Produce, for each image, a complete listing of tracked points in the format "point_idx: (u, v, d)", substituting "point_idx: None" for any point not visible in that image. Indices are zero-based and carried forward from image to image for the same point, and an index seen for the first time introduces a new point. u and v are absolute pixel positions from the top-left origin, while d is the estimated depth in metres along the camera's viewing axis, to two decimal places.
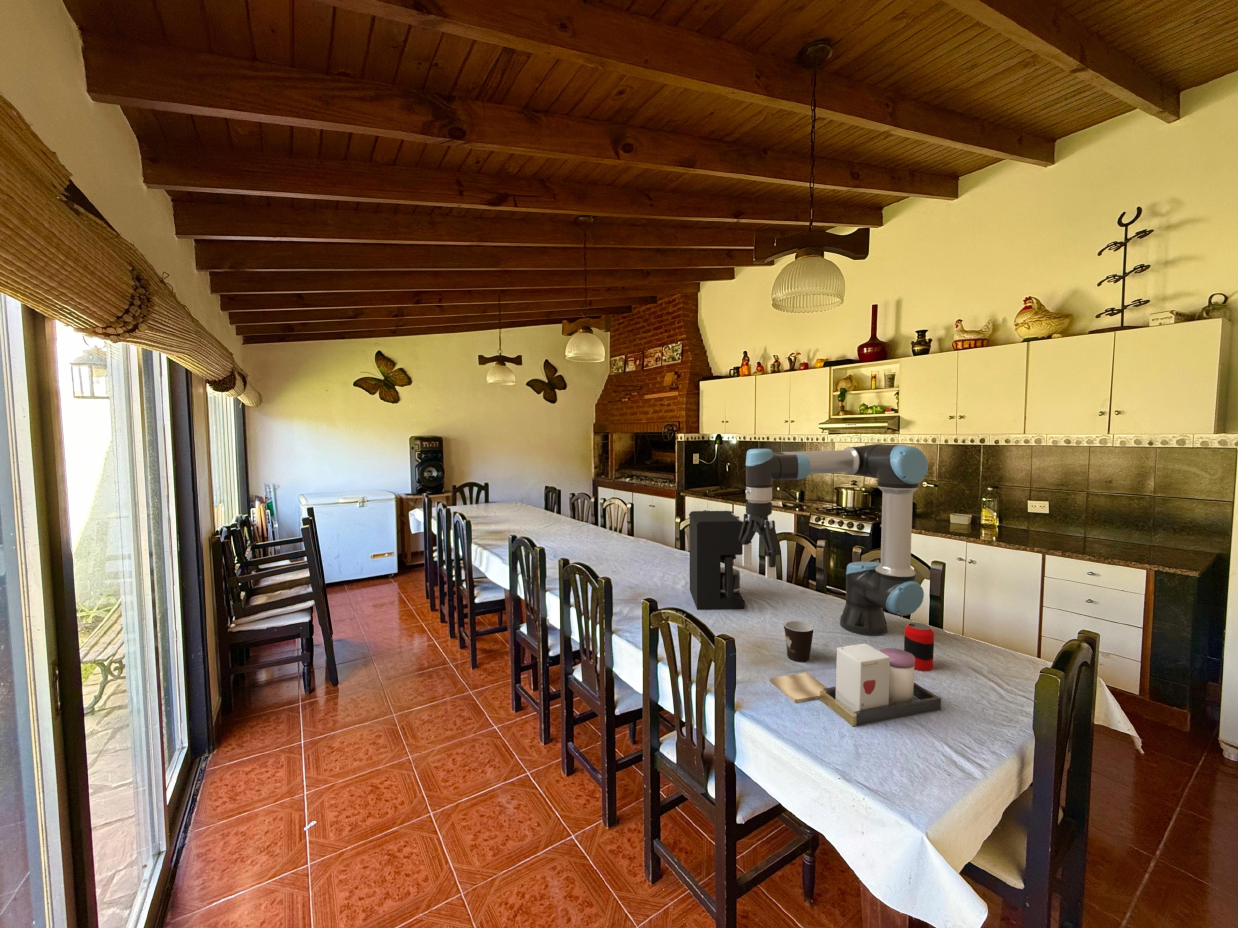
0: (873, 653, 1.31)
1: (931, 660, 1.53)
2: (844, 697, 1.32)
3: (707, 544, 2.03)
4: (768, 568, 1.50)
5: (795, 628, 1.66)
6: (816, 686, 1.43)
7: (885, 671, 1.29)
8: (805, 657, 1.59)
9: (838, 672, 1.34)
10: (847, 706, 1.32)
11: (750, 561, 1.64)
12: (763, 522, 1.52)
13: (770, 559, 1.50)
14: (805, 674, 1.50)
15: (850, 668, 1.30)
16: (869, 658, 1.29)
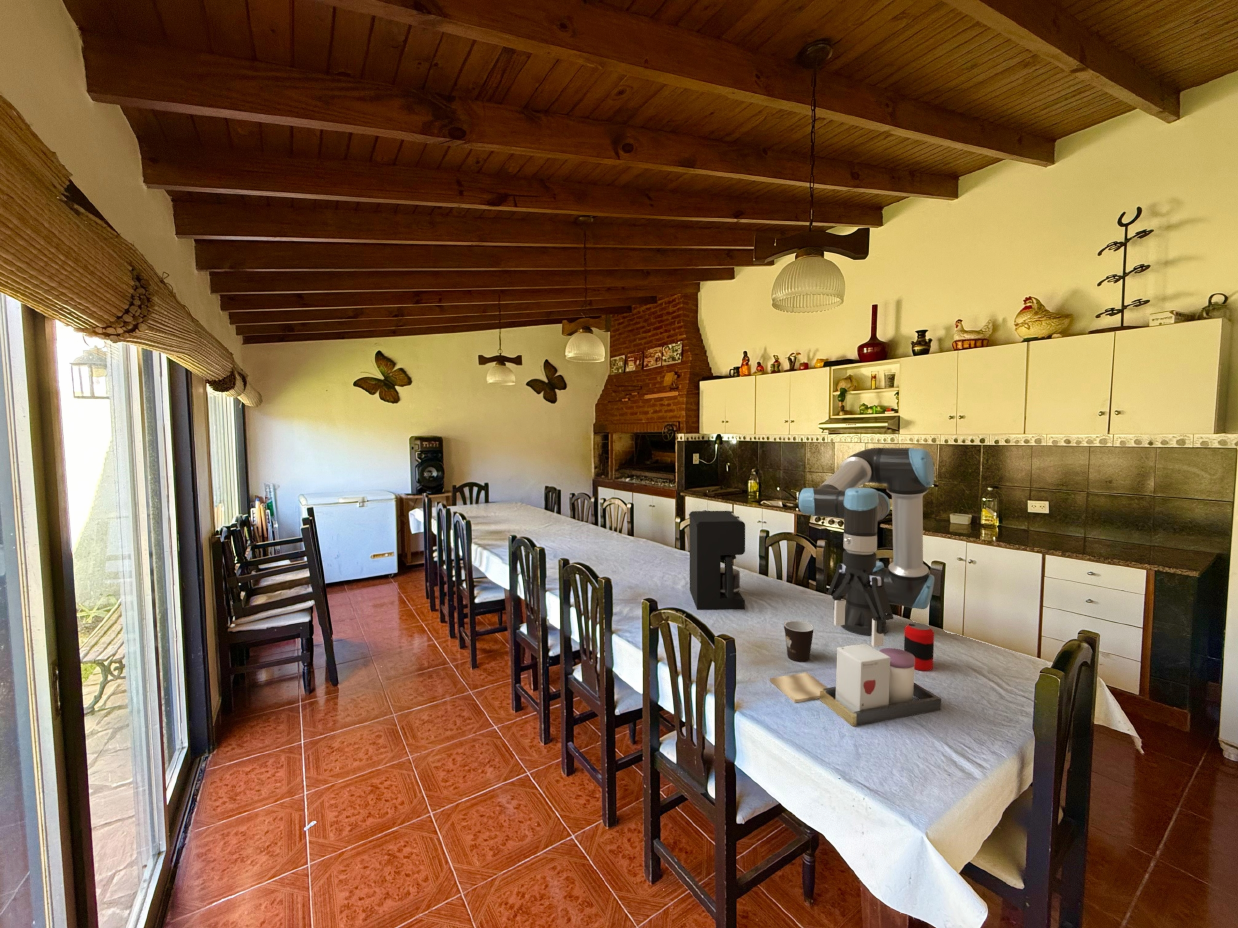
0: (873, 653, 1.31)
1: (931, 660, 1.53)
2: (844, 697, 1.32)
3: (707, 544, 2.03)
4: (875, 634, 1.24)
5: (795, 628, 1.66)
6: (816, 686, 1.43)
7: (885, 671, 1.29)
8: (805, 657, 1.59)
9: (839, 672, 1.34)
10: (847, 706, 1.32)
11: (843, 619, 1.38)
12: (868, 578, 1.26)
13: (878, 624, 1.23)
14: (805, 674, 1.50)
15: (850, 668, 1.30)
16: (869, 658, 1.29)
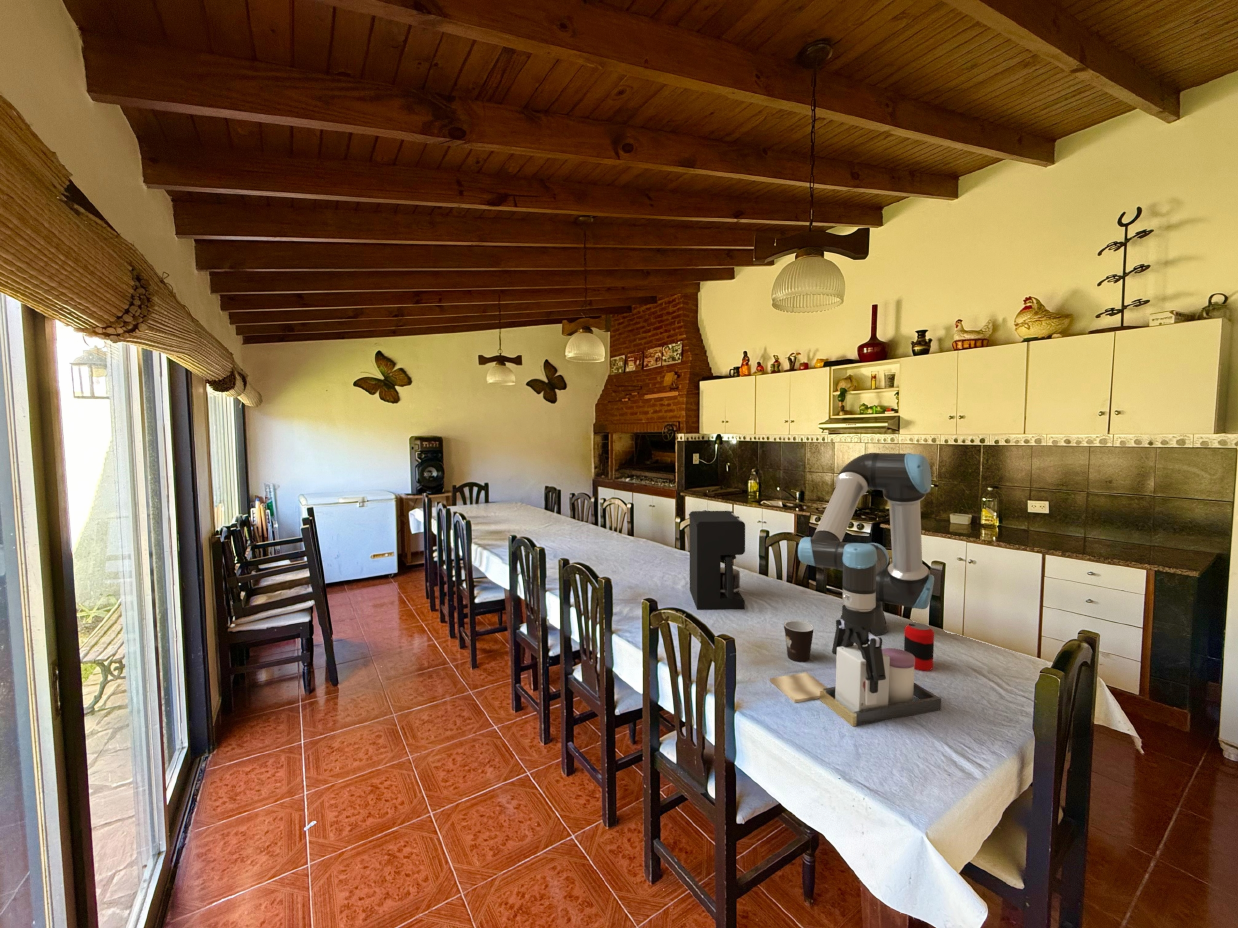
0: None
1: (931, 660, 1.53)
2: (844, 697, 1.33)
3: (707, 544, 2.03)
4: (868, 693, 1.27)
5: (795, 628, 1.66)
6: (816, 686, 1.43)
7: (885, 671, 1.29)
8: (805, 657, 1.59)
9: (838, 672, 1.34)
10: (847, 706, 1.32)
11: None
12: (867, 636, 1.27)
13: (871, 683, 1.26)
14: (805, 674, 1.50)
15: (849, 667, 1.30)
16: None
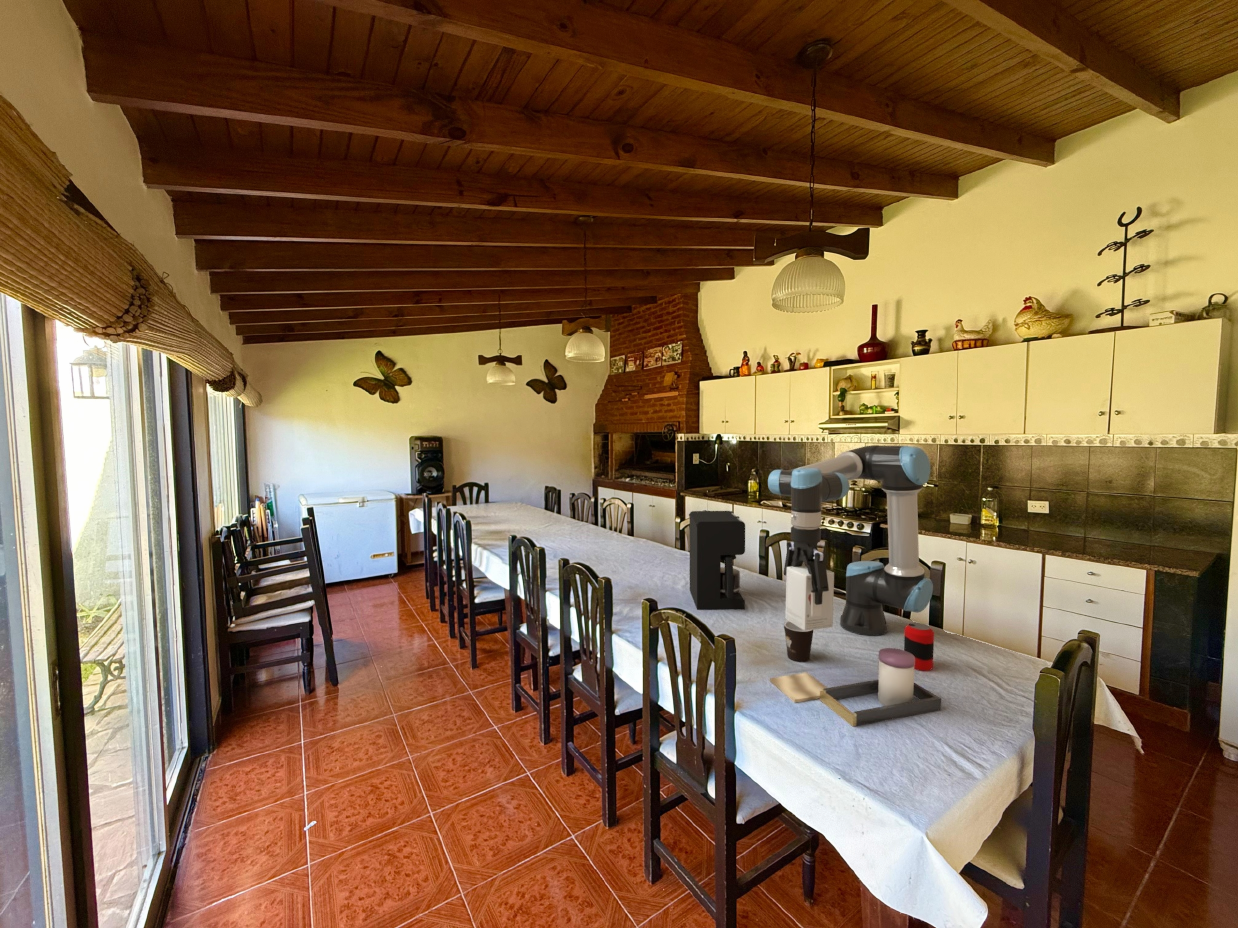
0: None
1: (931, 660, 1.53)
2: (792, 612, 1.42)
3: (707, 544, 2.03)
4: (814, 605, 1.36)
5: (795, 628, 1.66)
6: (816, 686, 1.43)
7: (829, 585, 1.38)
8: (805, 657, 1.59)
9: (788, 589, 1.43)
10: (795, 620, 1.41)
11: None
12: (812, 552, 1.36)
13: (816, 596, 1.35)
14: (805, 674, 1.50)
15: (797, 583, 1.39)
16: None
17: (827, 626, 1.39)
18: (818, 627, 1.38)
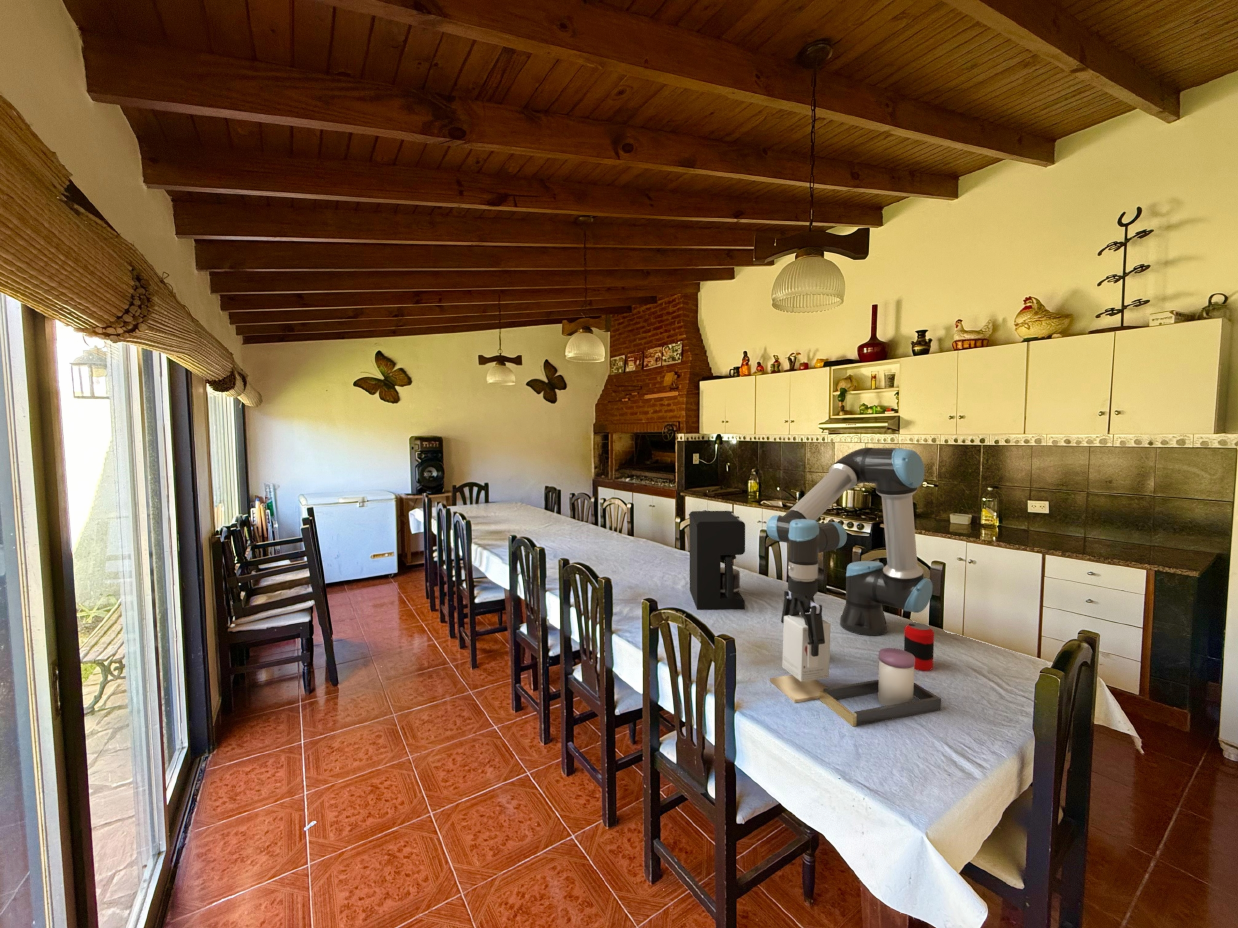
0: None
1: (931, 660, 1.53)
2: (789, 662, 1.43)
3: (707, 544, 2.03)
4: (810, 657, 1.38)
5: None
6: (816, 686, 1.43)
7: (826, 636, 1.40)
8: None
9: (785, 638, 1.45)
10: (791, 669, 1.42)
11: None
12: (809, 604, 1.38)
13: (812, 647, 1.37)
14: None
15: (794, 634, 1.41)
16: None
17: (823, 677, 1.40)
18: (815, 678, 1.40)
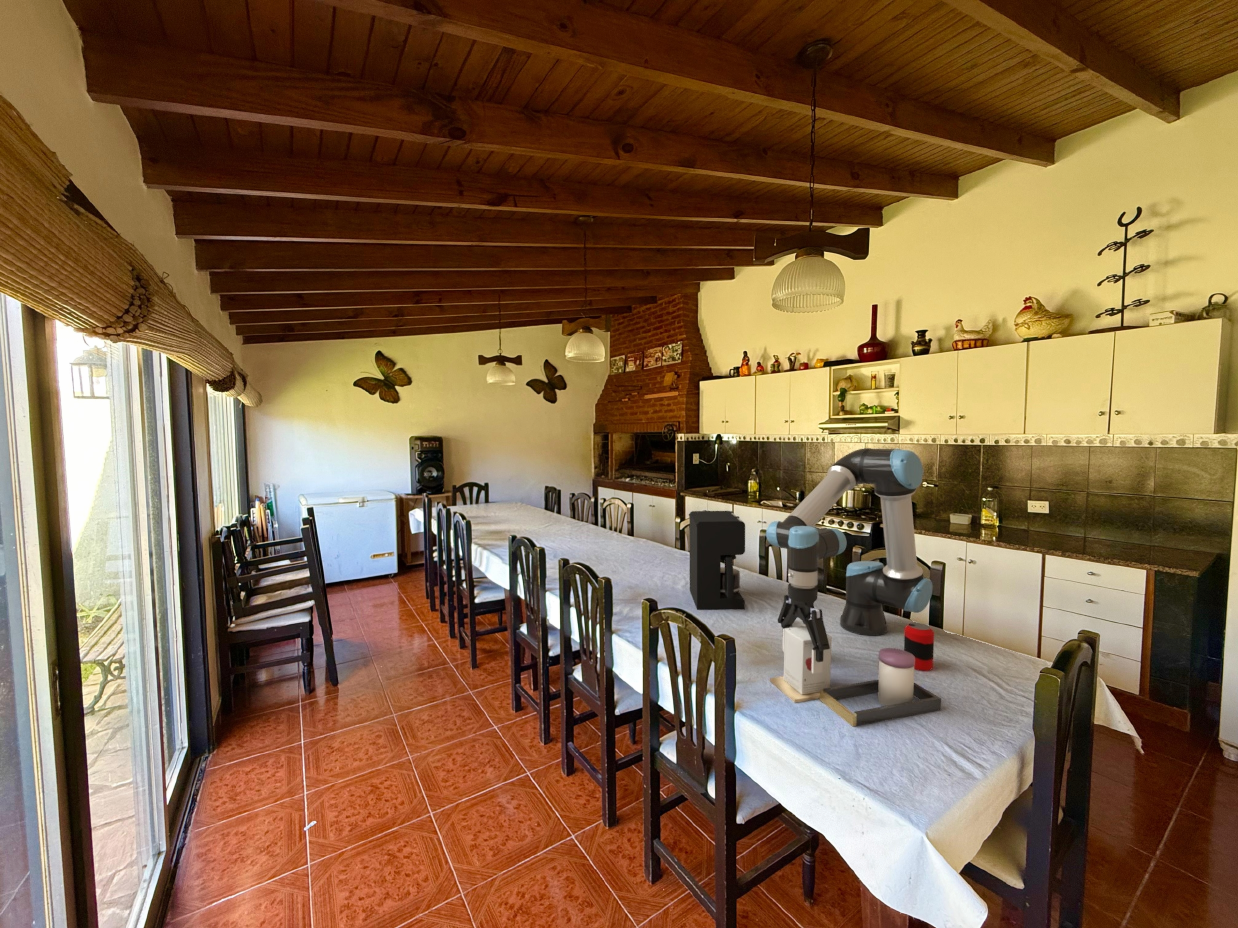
0: None
1: (931, 660, 1.53)
2: (790, 674, 1.43)
3: (707, 544, 2.03)
4: (815, 662, 1.36)
5: None
6: None
7: (827, 649, 1.40)
8: None
9: (786, 651, 1.45)
10: (792, 682, 1.42)
11: None
12: (809, 610, 1.38)
13: (817, 653, 1.35)
14: None
15: (794, 647, 1.41)
16: None
17: None
18: (816, 690, 1.40)
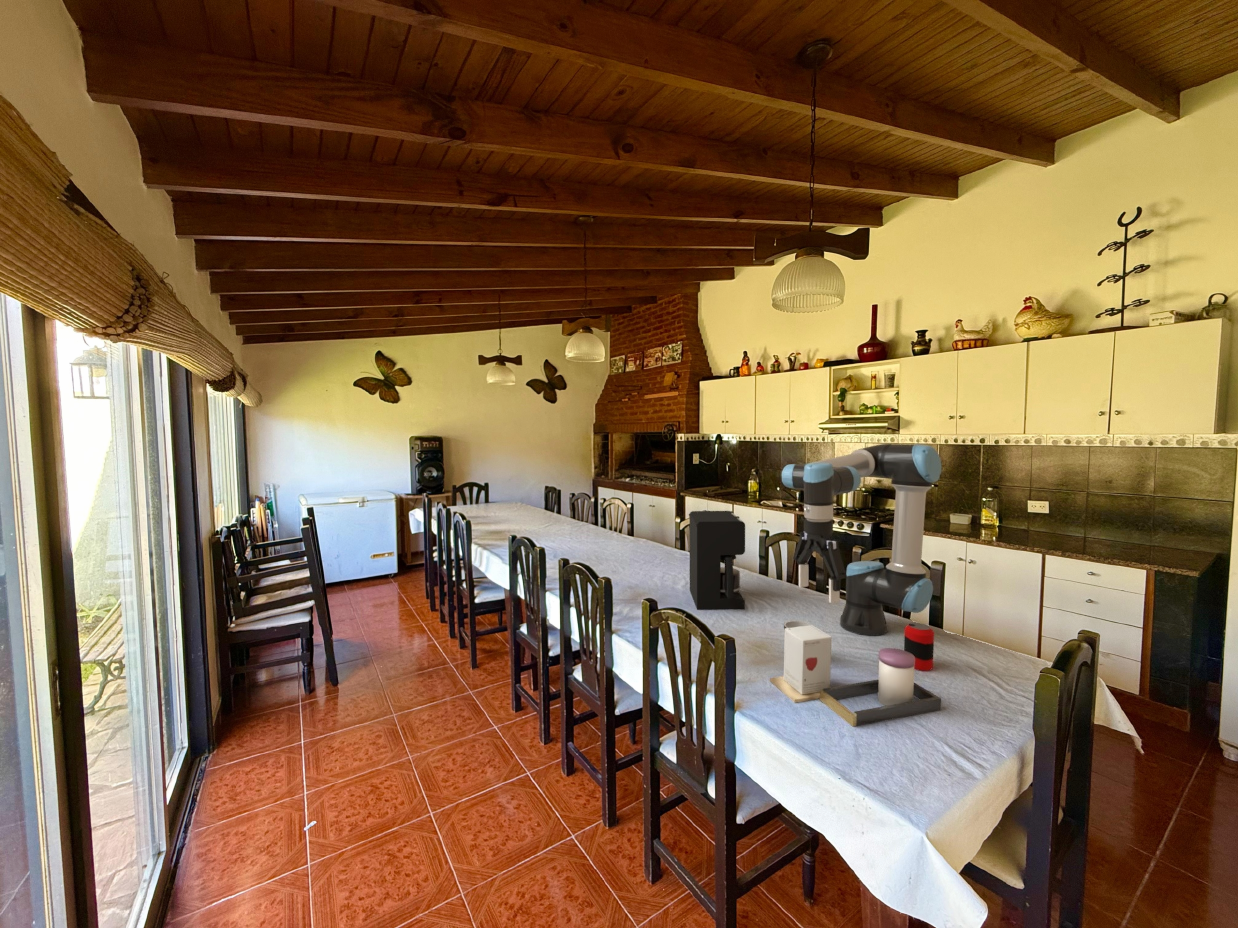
0: (816, 633, 1.42)
1: (931, 660, 1.53)
2: (790, 674, 1.43)
3: (707, 544, 2.03)
4: (832, 592, 1.40)
5: None
6: None
7: (827, 649, 1.40)
8: None
9: (786, 651, 1.45)
10: (792, 682, 1.42)
11: (806, 582, 1.54)
12: (825, 542, 1.42)
13: (834, 582, 1.39)
14: None
15: (794, 647, 1.41)
16: (812, 637, 1.39)
17: None
18: (816, 690, 1.40)
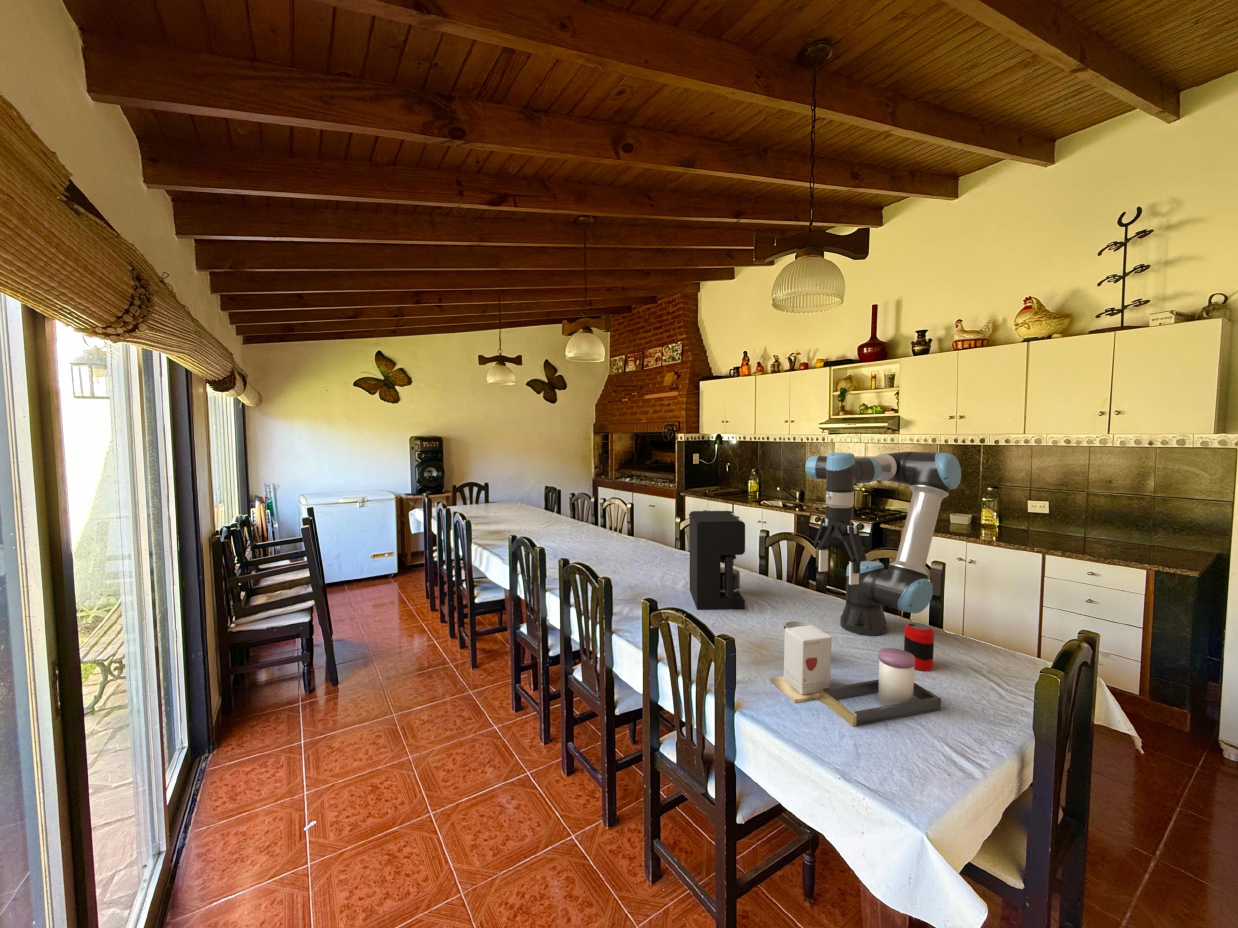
0: (816, 633, 1.42)
1: (931, 660, 1.53)
2: (790, 674, 1.43)
3: (707, 544, 2.03)
4: (852, 574, 1.48)
5: None
6: None
7: (827, 649, 1.40)
8: None
9: (786, 651, 1.45)
10: (792, 682, 1.42)
11: (826, 566, 1.61)
12: (846, 527, 1.50)
13: (854, 565, 1.47)
14: None
15: (794, 647, 1.41)
16: (812, 637, 1.39)
17: None
18: (816, 690, 1.40)
